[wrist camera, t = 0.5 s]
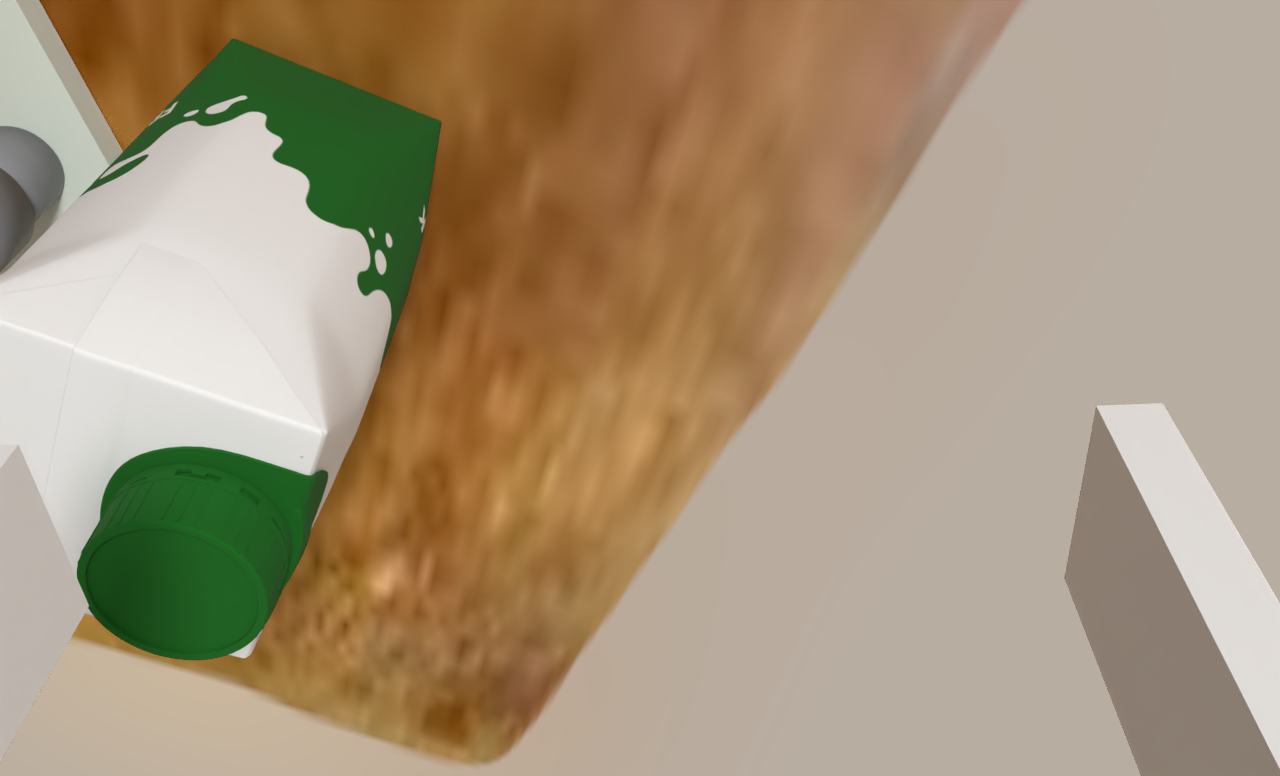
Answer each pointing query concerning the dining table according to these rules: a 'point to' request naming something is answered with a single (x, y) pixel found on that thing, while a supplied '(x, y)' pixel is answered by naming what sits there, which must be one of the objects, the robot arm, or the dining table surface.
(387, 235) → the soya milk
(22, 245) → the leg bar
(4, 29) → the seat board
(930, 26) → the dining table surface
